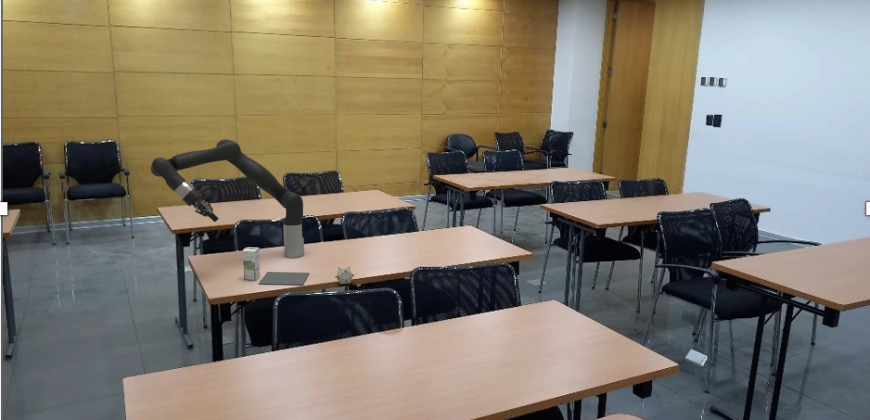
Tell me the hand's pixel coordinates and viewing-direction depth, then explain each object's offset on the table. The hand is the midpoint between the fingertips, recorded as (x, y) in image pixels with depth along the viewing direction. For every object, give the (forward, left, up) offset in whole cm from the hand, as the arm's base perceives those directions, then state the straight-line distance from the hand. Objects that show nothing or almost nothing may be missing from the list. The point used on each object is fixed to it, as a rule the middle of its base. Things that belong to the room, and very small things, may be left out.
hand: (216, 220), depth 282 cm
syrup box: (-11, +10, -28) cm, 31 cm away
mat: (-23, +19, -27) cm, 41 cm away
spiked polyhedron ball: (-41, +42, -28) cm, 65 cm away
